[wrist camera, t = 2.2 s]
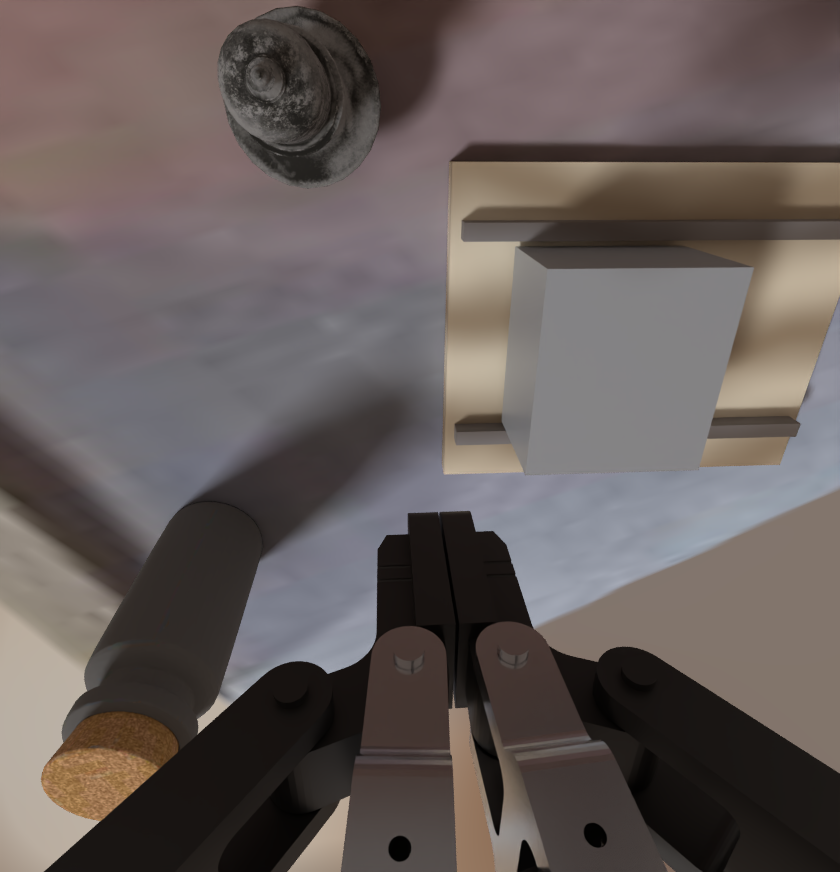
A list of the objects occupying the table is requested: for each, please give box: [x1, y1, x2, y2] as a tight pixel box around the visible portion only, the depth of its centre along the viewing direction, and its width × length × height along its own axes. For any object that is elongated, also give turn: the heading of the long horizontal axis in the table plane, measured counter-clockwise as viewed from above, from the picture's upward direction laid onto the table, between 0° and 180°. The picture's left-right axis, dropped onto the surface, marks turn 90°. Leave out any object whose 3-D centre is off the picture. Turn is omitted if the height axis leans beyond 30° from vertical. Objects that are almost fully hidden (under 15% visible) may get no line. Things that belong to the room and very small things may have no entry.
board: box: [442, 161, 840, 474], centre depth 28 cm, size 16×20×2 cm
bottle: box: [41, 502, 262, 821], centre depth 27 cm, size 6×6×15 cm
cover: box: [502, 245, 754, 475], centre depth 25 cm, size 9×8×6 cm
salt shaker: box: [218, 6, 381, 188], centre depth 18 cm, size 6×6×12 cm
